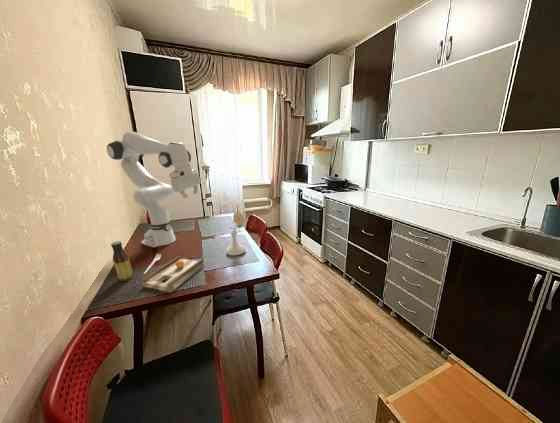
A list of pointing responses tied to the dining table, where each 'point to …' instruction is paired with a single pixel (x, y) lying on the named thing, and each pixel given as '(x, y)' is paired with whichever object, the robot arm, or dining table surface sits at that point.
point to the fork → (153, 262)
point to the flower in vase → (235, 247)
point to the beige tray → (172, 274)
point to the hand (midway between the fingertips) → (190, 195)
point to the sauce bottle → (121, 262)
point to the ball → (179, 263)
